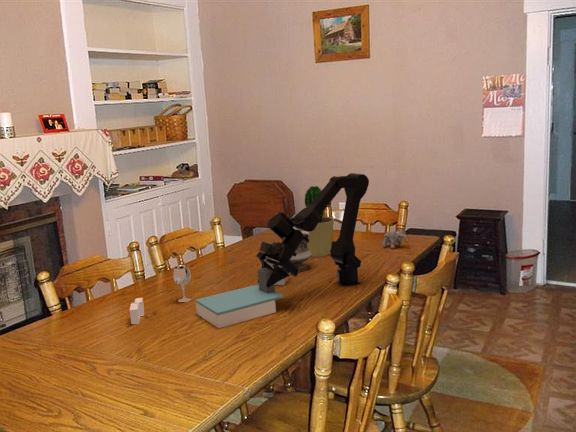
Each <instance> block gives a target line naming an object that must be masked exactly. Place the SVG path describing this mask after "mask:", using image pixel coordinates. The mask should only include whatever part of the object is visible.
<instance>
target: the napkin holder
mask: <svg viewBox="0 0 576 432" xmlns="http://www.w3.org/2000/svg"><path fill="white" fill-rule="evenodd" d="M129 315H130V316H129V317H130V324H136V325H140V322H141V317H140V316H143V317H144V316H145V305H144V298H143V297H137V298H135V299H134V302H132V303H130V306H129ZM139 321H140V322H139Z"/></svg>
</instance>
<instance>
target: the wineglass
mask: <svg viewBox="0 0 576 432" xmlns="http://www.w3.org/2000/svg"><path fill="white" fill-rule="evenodd" d="M191 277H192V275H191V271H190V268H189V266H188V265H186V264H181V265H176V266H174V268H173V281H174V283H175V284H177V285H179V286H181V290H182V294H183V295H182V296H183V297H182V298H179V299H178V300H177V302H178V303H180V302H185V303H188V302H191V301H192V299H191V298H190V297H186V295H185V286H186V285H188V284H189V283H190V281H191ZM190 300H191V301H190Z"/></svg>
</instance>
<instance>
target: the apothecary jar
mask: <svg viewBox="0 0 576 432" xmlns="http://www.w3.org/2000/svg"><path fill="white" fill-rule="evenodd" d="M293 228H294V229H295V230H299V229H297V228H296V227H293ZM300 231H301V232H302V233H303V234H308V236H309V232H307V231H303V230H300ZM283 239H284V237H283V238H280V240H283ZM295 253H296V254H297V255H296V257H295V256H292V258H291V259H290V261H291V262H292V263H293V264H294V265H295V266H297V267H298V268H299V273H300V272H304V271H307V270H309V268H310V267H309V265H308V264H305V263H304V262H306V261H308V260H309V259H310V258H311V257H312V256H311V252H310V250H309V249H308V248H307V242H304V241H302V243H301V244H300V246H299V247H298V249H297V250H296V252H295Z"/></svg>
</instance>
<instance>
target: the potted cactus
mask: <svg viewBox="0 0 576 432" xmlns="http://www.w3.org/2000/svg"><path fill="white" fill-rule="evenodd" d="M323 189H324V188H323ZM323 189H322V188H321V187H320V186H319V185H313V186H312V185H310V186H309V187H308V188H307V189H306V190H305V193H304V198H303V203H304V206H305V208H306V207H308V206H309V205H310V204H311V203H312V202H313V201H314V199H315V198H316V197H317V196H318V195H319V193H320V192H321V191H322V190H323ZM324 215H325V210H324V211H323V212H322V214H321V216H320V221H319V223H318V225H317V226H316V228H315V229H314V230H313V231H311V232H309V236H308V238H309V243H307V248H308V249H309V250H310V252H311V256H310V257H315V258H316V257H318V258H319V257H326V256H329V255H331V252H330V250H331V246H332V241H333V233H334V224H335V223H334V222H335V221H334V220H335V218H334V217H331V216H324Z"/></svg>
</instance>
